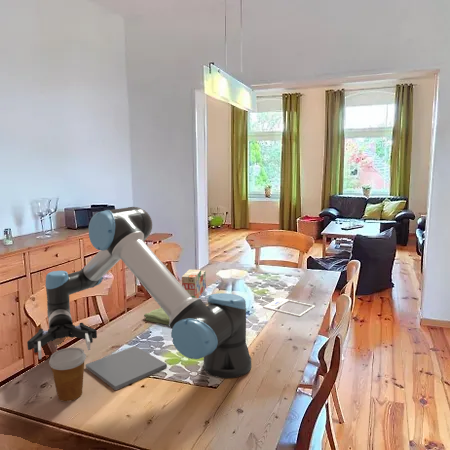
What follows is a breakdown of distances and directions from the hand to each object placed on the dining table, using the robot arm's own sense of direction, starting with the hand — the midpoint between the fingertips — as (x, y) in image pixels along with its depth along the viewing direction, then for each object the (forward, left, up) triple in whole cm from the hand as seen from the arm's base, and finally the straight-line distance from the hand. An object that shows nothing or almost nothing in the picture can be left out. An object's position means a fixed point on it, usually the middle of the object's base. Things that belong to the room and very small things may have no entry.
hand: (65, 350), depth 120 cm
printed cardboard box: (+31, -77, -9) cm, 84 cm away
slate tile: (-7, -16, -9) cm, 20 cm away
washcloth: (+16, -50, -10) cm, 53 cm away
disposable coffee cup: (-9, +3, -9) cm, 14 cm away
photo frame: (-12, -95, -10) cm, 96 cm away
